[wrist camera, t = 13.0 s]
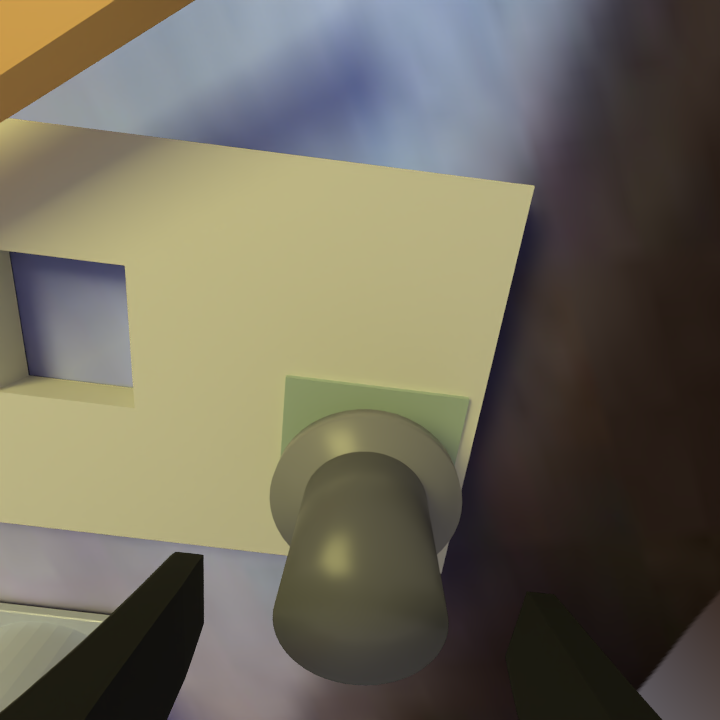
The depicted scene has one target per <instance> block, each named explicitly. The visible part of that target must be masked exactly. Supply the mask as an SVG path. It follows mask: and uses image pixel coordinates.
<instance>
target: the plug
mask: <svg viewBox="0 0 720 720" xmlns="http://www.w3.org/2000/svg"><path fill="white" fill-rule="evenodd" d="M269 499H270V509H271V513H272V516H273V520H274V522H275V525H276V527H277V529H278V531H279V532H280V534H281V536H282V537H283V539H284V540H285V541H286V542H287V544H288V545H289V546H290V549H289V552H288V556H287V560H286V564H285V567H284V571H283V575H282V579H281V583H280V586H279V590H278V594H277V598H276V601H275V605H274V609H273V626H274V630H275V633H276V636H277V638H278V640H279V643H280V644H281V646H282V647H283V649H284V650H285V651H286V653H287V654H288V655H289V656H290V657H291V658H292V659H293V660H294V661H295V662H297V663H298V664H299V665H301V666H302V667H303V668H305V669H306V670H308V671H310V672H312V673H314V674H316V675H318V676H320V677H323V678H325V679H329V680H332V681H335V682H340V683H344V684H352V685H379V684H385V683H390V682H394V681H398V680H401V679H404V678H406V677H409V676H411V675H413V674H415V673H417V672H418V671H420V670H421V669H423V668H424V667H426V666H427V665H428V664H429V663H430V662H432V660H433V659H434V658H435V657H436V656H437V655H438V653H439V652H440V650H441V649H442V647H443V645H444V643H445V641H446V637H447V634H448V624H449V623H448V614H447V608H446V603H445V597H444V592H443V586H442V580H441V575H440V569H439V564H438V558H437V554H438V553H439V552H440V551H441V550H442V549H443V548H444V547H445V546H446V545H447V543H448V542H449V541H450V539H451V537H452V536H453V534H454V533H455V530H456V528H457V526H458V523H459V520H460V516H461V511H462V491H461V487H460V483H459V479H458V476H457V472H456V469H455V467H454V464H453V462H452V459H451V457H450V456H449V454H448V452H447V450H446V449H445V447H444V446H443V445H442V444H441V443H440V441H439V440H438V439H437V438H436V437H435V436H434V435H433V434H432V433H430V432H429V431H428V430H427V429H425V428H424V427H422V426H421V425H419V424H418V423H416V422H414V421H412V420H410V419H408V418H406V417H403V416H400V415H398V414H394V413H390V412H386V411H380V410H372V409H356V410H347V411H342V412H338V413H334V414H331V415H328V416H326V417H323V418H321V419H319V420H317V421H315V422H313V423H311V424H310V425H308V426H307V427H305V428H304V429H303V430H301V431H300V432H299V433H298V434H297V435H296V436H295V437H294V438H293V439H292V440H291V441H290V443H289V444H288V445H287V446H286V448H285V450H284V452H283V453H282V455H281V457H280V460H279V462H278V464H277V467H276V469H275V472H274V475H273V477H272V481H271V486H270V498H269Z"/></svg>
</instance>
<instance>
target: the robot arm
mask: <svg viewBox="0 0 720 720" xmlns="http://www.w3.org/2000/svg"><path fill="white" fill-rule="evenodd" d="M203 624H204V569H203V555H200V554H191V553H182V552H175V553H173V554H172V555H171V556H170V557H169V558H168V559H167V560H166V561H165V562H164V563H163V564H162V565H161V566H160V567H159V568H158V569H157V570H156V571H155V572H154V573H153V574H152V575H151V576H150V577H149V578H148V579H147V580H146V581H145V582H144V583H143V584H142V585H141V586H140V587H139V588H138V589H137V590H136V591H135V592H134V593H133V594H132V595H131V596H130V597H128V598H127V599H126V600H125V601H124V602H123V603H122V604H121V605H120V606H119V607H118V608H117V609H116V610H115V611H114V612H113V613H112V614H111V615H105V614H96V613H87V612H78V611H69V610H61V609H52V608H43V607H34V606H26V605H17V604H8V603H0V720H167V718H168V716H169V714H170V711H171V709H172V707H173V705H174V702H175V700H176V698H177V696H178V693H179V691H180V689H181V686H182V684H183V682H184V680H185V677H186V674H187V671H188V669H189V666H190V663H191V660H192V657H193V654H194V651H195V648H196V645H197V642H198V639H199V636H200V633H201V630H202V627H203ZM505 658H506V663H507V668H508V673H509V678H510V683H511V688H512V693H513V697H514V702H515V706H516V711H517V715H518V718H519V720H662V719H661V718H660V717H659V716H658V714H657V713H656V712H655V711H654V710H653V709H652V708H651V707H650V706H649V704H648V703H647V702H646V701H645V700H644V699H643V698H642V697H641V695H640V694H639V693H638V692H637V691H636V690H635V689H634V687H633V686H632V685H631V684H630V683H629V682H628V681H627V679H626V678H625V677H624V676H623V675H622V674H621V672H620V671H619V670H618V669H617V668H616V667H615V665H614V664H613V663H612V662H611V661H610V660H609V658H608V657H607V656H606V655H605V654H604V653H603V651H602V650H601V649H600V648H599V647H598V646H597V644H596V643H595V642H594V641H593V640H592V638H591V637H590V636H589V635H588V634H587V633H586V631H585V630H584V629H583V628H582V627H581V625H580V624H579V623H578V622H577V621H576V619H575V618H574V617H573V616H572V615H571V614H570V612H569V611H568V610H567V609H566V608H565V607H564V605H563V604H562V603H561V602H560V601H559V600H558V598H557V597H556V596H555V595H553V594H544V593H535V592H527V593H526V596H525V599H524V602H523V605H522V608H521V611H520V614H519V617H518V620H517V623H516V626H515V629H514V632H513V635H512V638H511V641H510V644H509V647H508V650H507V653H506V656H505Z"/></svg>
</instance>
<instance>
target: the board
mask: <svg viewBox="0 0 720 720" xmlns="http://www.w3.org/2000/svg"><path fill="white" fill-rule="evenodd" d="M534 187H535V186H532V185H524V184H516V183H508V182H500V181H493V180H485V179H477V178H469V177H462V176H454V175H446V174H438V173H430V172H423V171H415V170H407V169H399V168H392V167H384V166H376V165H368V164H360V163H353V162H345V161H337V160H329V159H322V158H314V157H306V156H298V155H291V154H283V153H275V152H267V151H259V150H252V149H244V148H236V147H228V146H221V145H213V144H205V143H197V142H189V141H182V140H174V139H166V138H158V137H151V136H143V135H135V134H127V133H119V132H112V131H104V130H96V129H88V128H81V127H73V126H65V125H57V124H49V123H42V122H34V121H26V120H18V119H11V118H7V119H6V120H4V121H2V122H1V123H0V522H3V523H12V524H21V525H29V526H38V527H46V528H55V529H63V530H72V531H81V532H89V533H98V534H106V535H115V536H124V537H132V538H141V539H149V540H158V541H166V542H175V543H184V544H192V545H201V546H209V547H218V548H226V549H235V550H244V551H252V552H261V553H269V554H278V555H287V556H288V552H289V549H290V546H289V545H288V544H287V542H286V541H285V540H284V539H283V537H282V536H281V534H280V532H279V531H278V529H277V527H276V525H275V522H274V520H273V516H272V513H271V509H270V499H269V498H270V486H271V481H272V477H273V475H274V472H275V469H276V467H277V464H278V462H279V460H280V457H281V455H282V453H283V452H284V450H285V448H286V446H287V445H288V444H289V443H290V441H291V440H292V439H293V438H294V437H295V436H296V435H297V434H298V433H299V432H300V431H301V430H303V429H304V428H305V427H307V426H308V425H310V424H311V423H313V422H315V421H317V420H319V419H321V418H323V417H326V416H328V415H331V414H334V413H338V412H342V411H347V410H356V409H372V410H380V411H386V412H390V413H394V414H398V415H400V416H403V417H406V418H408V419H410V420H412V421H414V422H416V423H418V424H419V425H421V426H422V427H424V428H425V429H427V430H428V431H429V432H430V433H432V434H433V435H434V436H435V437H436V438H437V439H438V440H439V441H440V443H441V444H442V445H443V446H444V447H445V449H446V450H447V452H448V454H449V456H450V457H451V459H452V462H453V464H454V467H455V469H456V472H457V476H458V479H459V483H460V487H461V490H462V486H463V482H464V477H465V473H466V469H467V465H468V461H469V457H470V452H471V448H472V444H473V440H474V436H475V432H476V428H477V423H478V419H479V415H480V411H481V407H482V403H483V398H484V394H485V390H486V386H487V382H488V378H489V374H490V369H491V365H492V361H493V357H494V353H495V349H496V344H497V340H498V336H499V332H500V328H501V324H502V319H503V315H504V311H505V307H506V303H507V299H508V295H509V290H510V286H511V282H512V278H513V274H514V270H515V265H516V261H517V257H518V253H519V249H520V245H521V241H522V236H523V232H524V228H525V224H526V220H527V216H528V211H529V207H530V203H531V199H532V195H533V191H534ZM9 251H12V252H20V253H28V254H36V255H44V256H52V257H60V258H68V259H76V260H84V261H92V262H100V263H108V264H116V265H124V266H125V276H126V290H127V305H128V319H129V334H130V348H131V363H132V377H133V388H129V387H121V386H112V385H104V384H96V383H88V382H79V381H71V380H63V379H54V378H46V377H38V376H30V375H29V374H28V368H27V361H26V355H25V349H24V343H23V336H22V330H21V324H20V317H19V311H18V305H17V299H16V292H15V286H14V280H13V273H12V267H11V261H10V255H9ZM448 544H449V542H448V543H447V545H446V546H445V547H444V548H443V549H442V550H441V551H440V552H439V553H438V554H437V558H438V564H439V569H440V573H442V569H443V565H444V560H445V556H446V552H447V548H448Z"/></svg>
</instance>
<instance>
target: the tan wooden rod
mask: <svg viewBox="0 0 720 720" xmlns="http://www.w3.org/2000/svg"><path fill="white" fill-rule="evenodd" d="M193 1H195V0H0V123H1V122H2V121H4V120H6V119H7V118H9V117H10V116H12V115H14V114H15V113H17V112H18V111H20V110H21V109H23V108H25V107H26V106H28V105H29V104H31V103H33V102H34V101H36V100H37V99H39V98H41V97H42V96H44V95H45V94H47V93H48V92H50V91H52V90H53V89H55V88H56V87H58V86H60V85H61V84H63V83H64V82H66V81H68V80H69V79H71V78H72V77H74V76H75V75H77V74H79V73H80V72H82V71H83V70H85V69H87V68H88V67H90V66H91V65H93V64H95V63H96V62H98V61H99V60H101V59H102V58H104V57H106V56H107V55H109V54H110V53H112V52H114V51H115V50H117V49H118V48H120V47H122V46H123V45H125V44H126V43H128V42H129V41H131V40H133V39H134V38H136V37H137V36H139V35H141V34H142V33H144V32H145V31H147V30H149V29H150V28H152V27H153V26H155V25H157V24H158V23H160V22H161V21H163V20H164V19H166V18H168V17H169V16H171V15H172V14H174V13H176V12H177V11H179V10H180V9H182V8H184V7H185V6H187V5H188V4H190V3H191V2H193Z"/></svg>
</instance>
